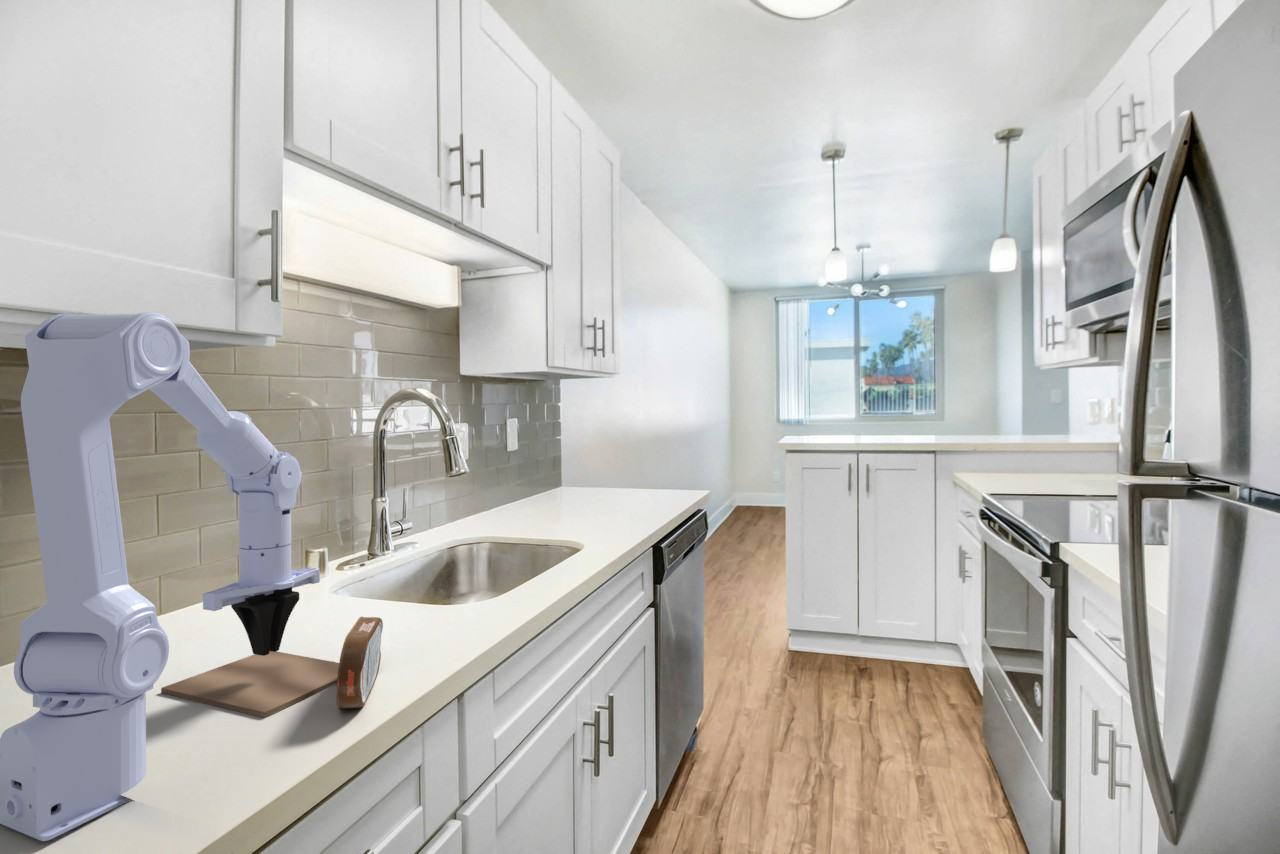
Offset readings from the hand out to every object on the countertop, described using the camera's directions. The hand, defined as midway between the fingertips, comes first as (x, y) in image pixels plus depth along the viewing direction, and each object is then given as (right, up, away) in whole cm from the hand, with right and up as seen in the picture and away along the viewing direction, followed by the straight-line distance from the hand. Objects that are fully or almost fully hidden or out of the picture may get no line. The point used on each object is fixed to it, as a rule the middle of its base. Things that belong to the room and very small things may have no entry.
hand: (266, 652), depth 79 cm
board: (0, -4, 0) cm, 4 cm away
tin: (+14, -4, -3) cm, 15 cm away
